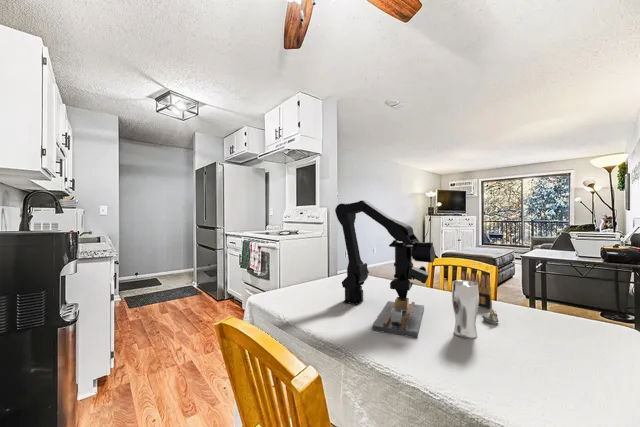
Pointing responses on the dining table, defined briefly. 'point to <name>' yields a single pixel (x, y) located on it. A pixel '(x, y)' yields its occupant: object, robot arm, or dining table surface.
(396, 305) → the tan wooden block
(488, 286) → the ammunition clip
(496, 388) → the dining table surface
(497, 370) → the dining table surface
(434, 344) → the dining table surface
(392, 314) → the fixed leg
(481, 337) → the dining table surface
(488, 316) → the figurine
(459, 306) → the beer glass
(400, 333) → the bolt plate
